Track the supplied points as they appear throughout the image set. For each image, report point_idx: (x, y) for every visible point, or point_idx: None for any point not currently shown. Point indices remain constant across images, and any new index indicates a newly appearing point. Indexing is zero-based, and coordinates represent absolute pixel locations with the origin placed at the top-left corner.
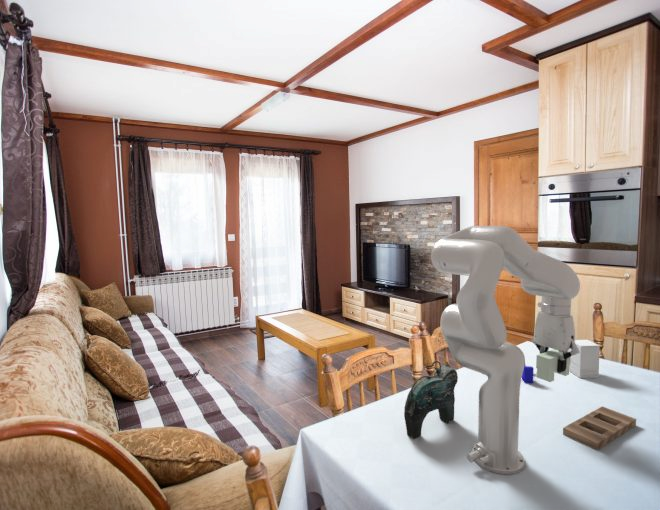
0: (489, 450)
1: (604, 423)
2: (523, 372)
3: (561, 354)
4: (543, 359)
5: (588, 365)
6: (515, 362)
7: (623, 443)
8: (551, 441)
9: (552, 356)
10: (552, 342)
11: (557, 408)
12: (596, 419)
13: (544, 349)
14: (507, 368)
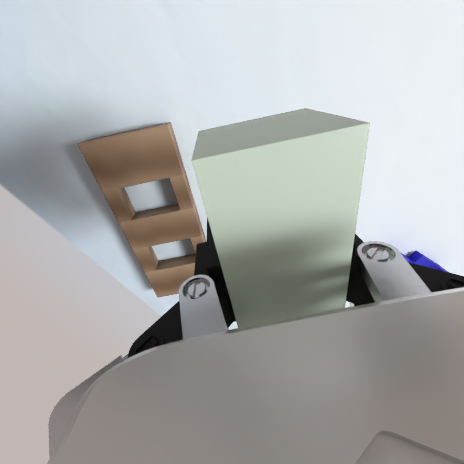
0: None
1: (158, 236)
2: (406, 260)
3: (197, 315)
4: (268, 136)
5: None
6: None
7: (108, 219)
8: (147, 50)
9: (246, 247)
10: (297, 433)
11: None
12: (178, 236)
13: (371, 284)
14: None
